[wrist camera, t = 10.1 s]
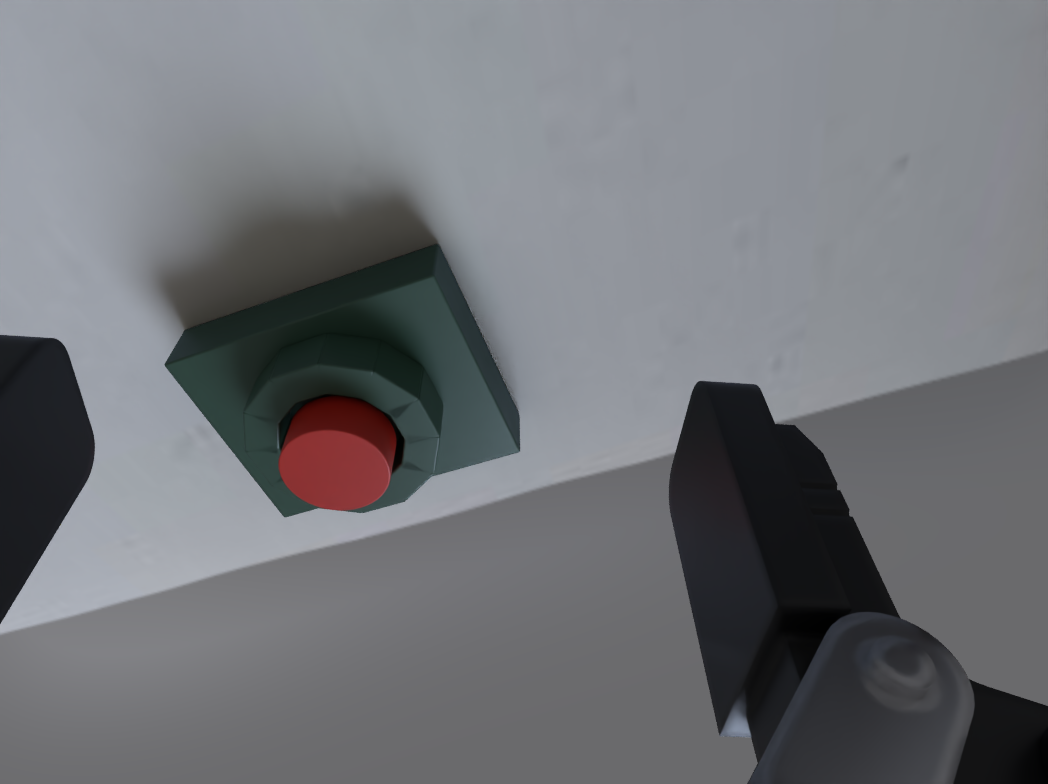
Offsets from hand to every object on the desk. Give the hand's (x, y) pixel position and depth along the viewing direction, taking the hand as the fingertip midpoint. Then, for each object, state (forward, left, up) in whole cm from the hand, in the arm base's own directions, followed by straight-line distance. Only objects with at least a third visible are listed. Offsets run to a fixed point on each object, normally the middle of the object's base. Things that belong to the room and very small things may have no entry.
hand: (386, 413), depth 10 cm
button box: (+2, +12, -16) cm, 20 cm away
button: (+2, +12, -12) cm, 17 cm away
